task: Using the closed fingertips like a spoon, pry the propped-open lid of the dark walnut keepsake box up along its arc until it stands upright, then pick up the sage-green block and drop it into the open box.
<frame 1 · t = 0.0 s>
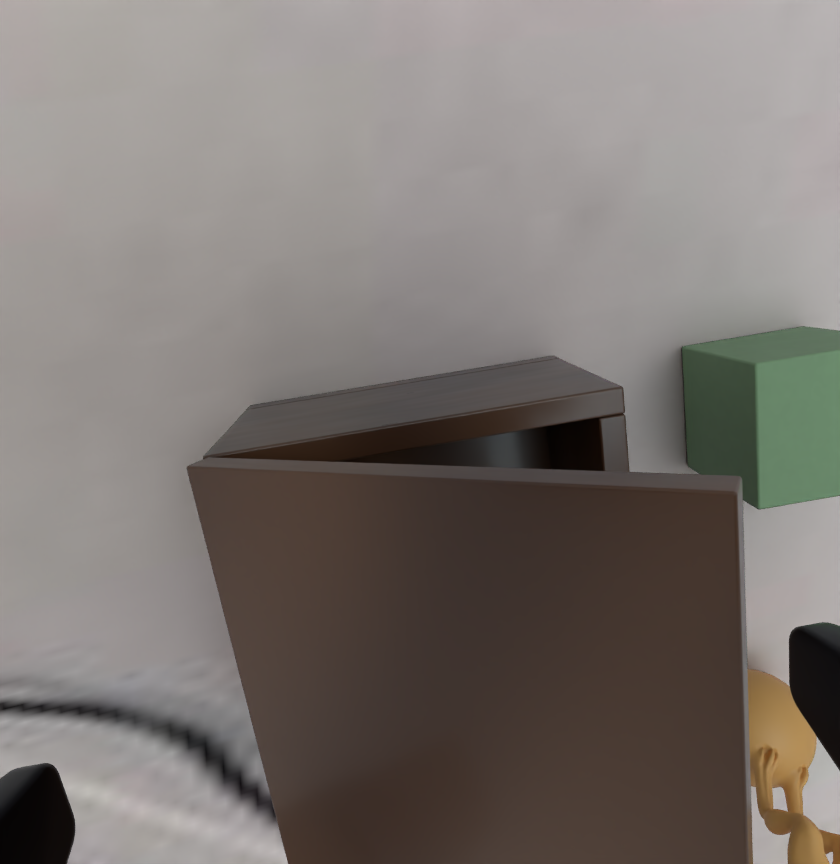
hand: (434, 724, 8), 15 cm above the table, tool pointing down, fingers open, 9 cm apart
box: (430, 547, 23), on the table
block: (744, 397, 23), on the table
figurine: (706, 708, 26), on the table
lid: (446, 746, 13), point 10 cm above the table, hinge at 35.0°
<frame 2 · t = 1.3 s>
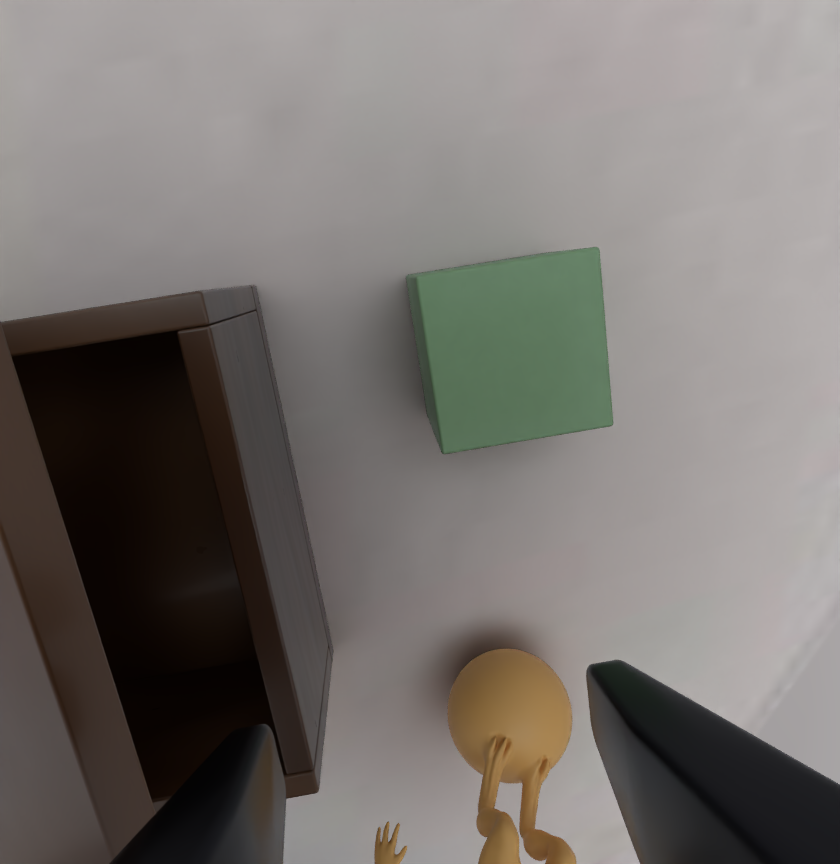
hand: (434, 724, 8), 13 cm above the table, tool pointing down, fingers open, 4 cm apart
box: (134, 509, 20), on the table
block: (487, 336, 20), on the table
figurine: (480, 694, 23), on the table
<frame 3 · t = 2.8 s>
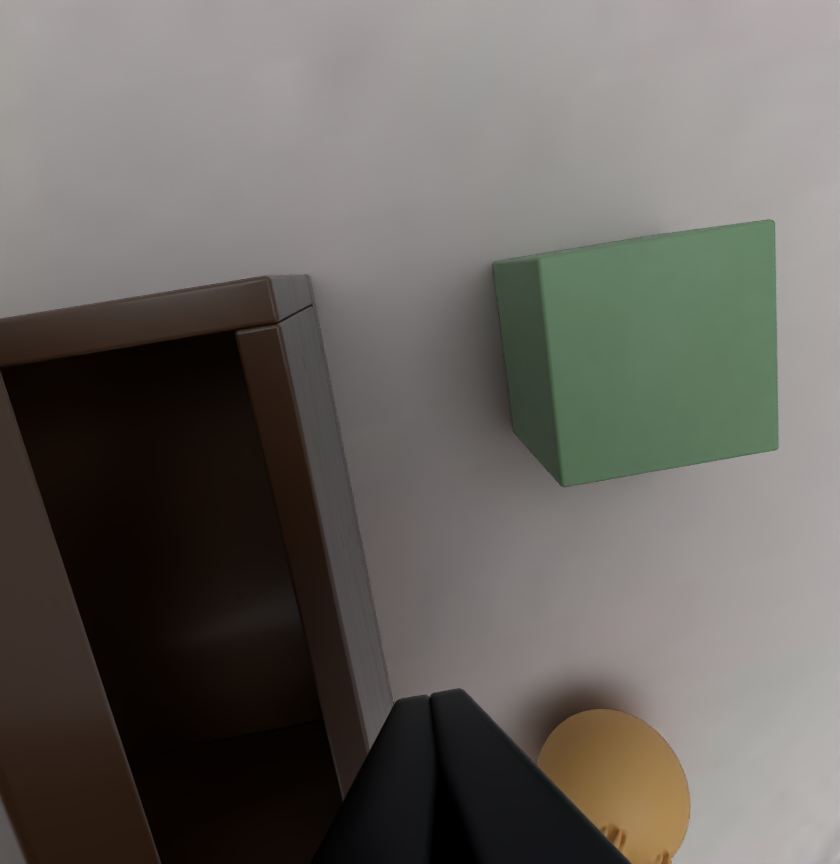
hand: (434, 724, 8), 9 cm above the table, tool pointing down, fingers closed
box: (159, 547, 17), on the table
block: (587, 336, 16), on the table
figurine: (565, 757, 19), on the table
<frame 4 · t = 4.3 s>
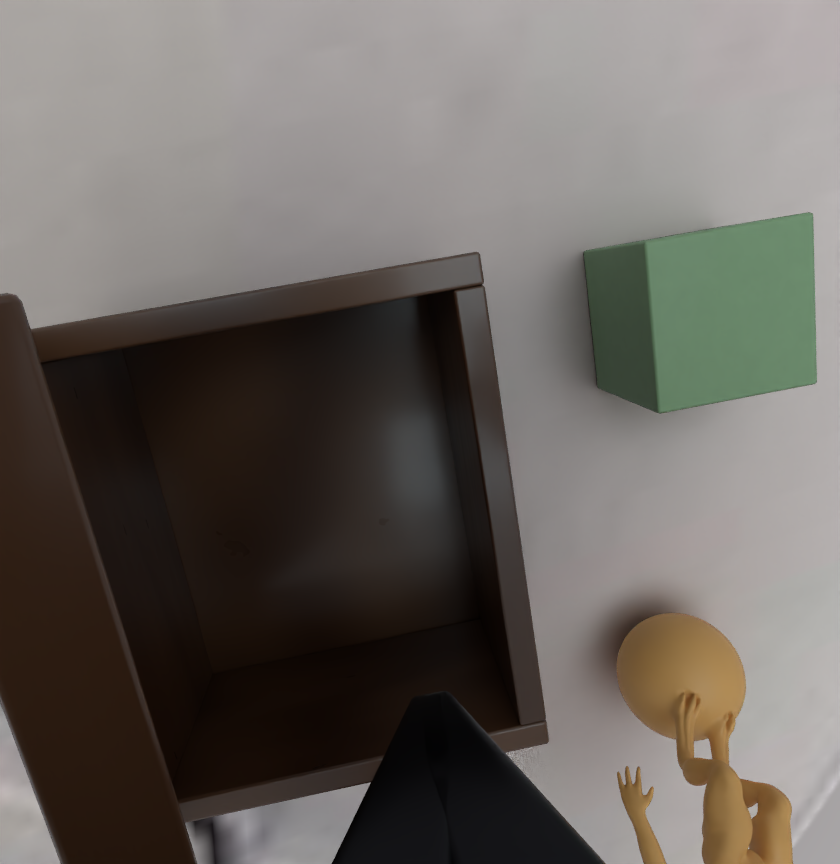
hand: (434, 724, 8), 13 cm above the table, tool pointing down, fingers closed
box: (315, 484, 21), on the table
block: (656, 309, 21), on the table
figurine: (634, 661, 24), on the table
lid: (104, 752, 9), point 12 cm above the table, hinge at 60.6°, touching gripper
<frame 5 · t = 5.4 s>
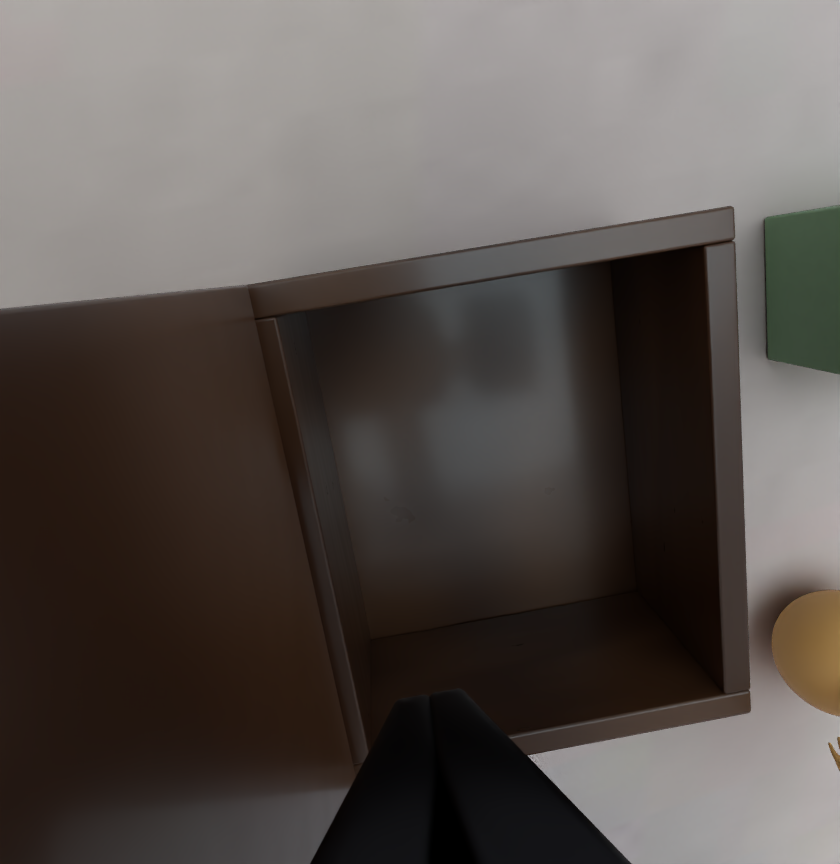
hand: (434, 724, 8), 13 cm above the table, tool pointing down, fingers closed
box: (479, 452, 21), on the table
block: (832, 279, 20), on the table
figurine: (780, 639, 23), on the table
lid: (221, 773, 8), point 12 cm above the table, hinge at 93.3°, touching gripper
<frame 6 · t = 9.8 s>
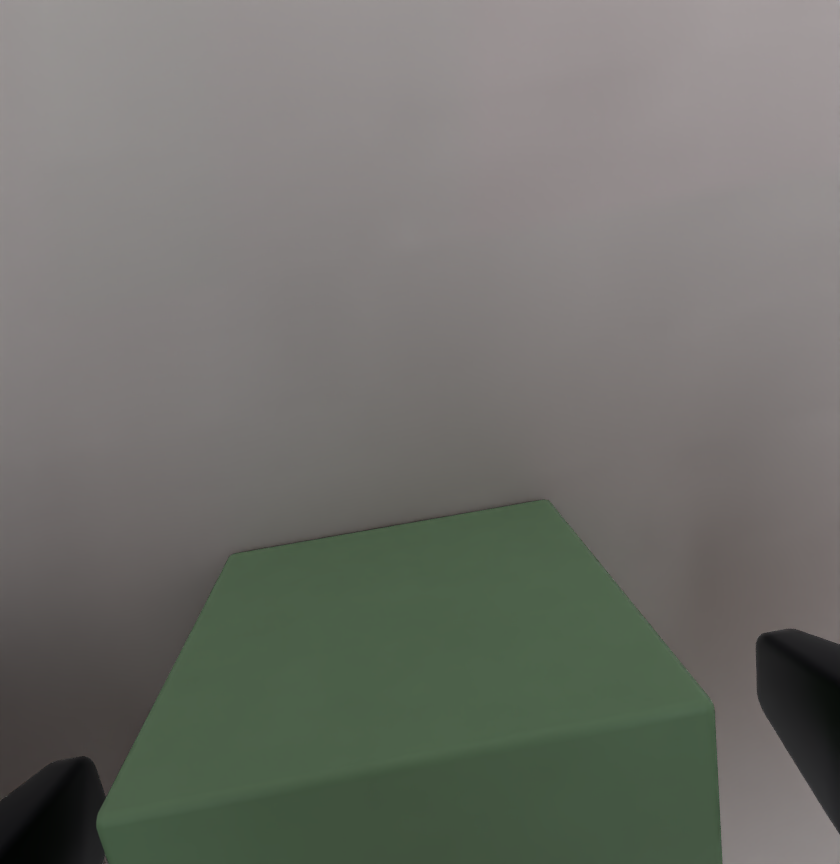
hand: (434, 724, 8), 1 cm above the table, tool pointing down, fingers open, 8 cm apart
block: (415, 665, 9), on the table
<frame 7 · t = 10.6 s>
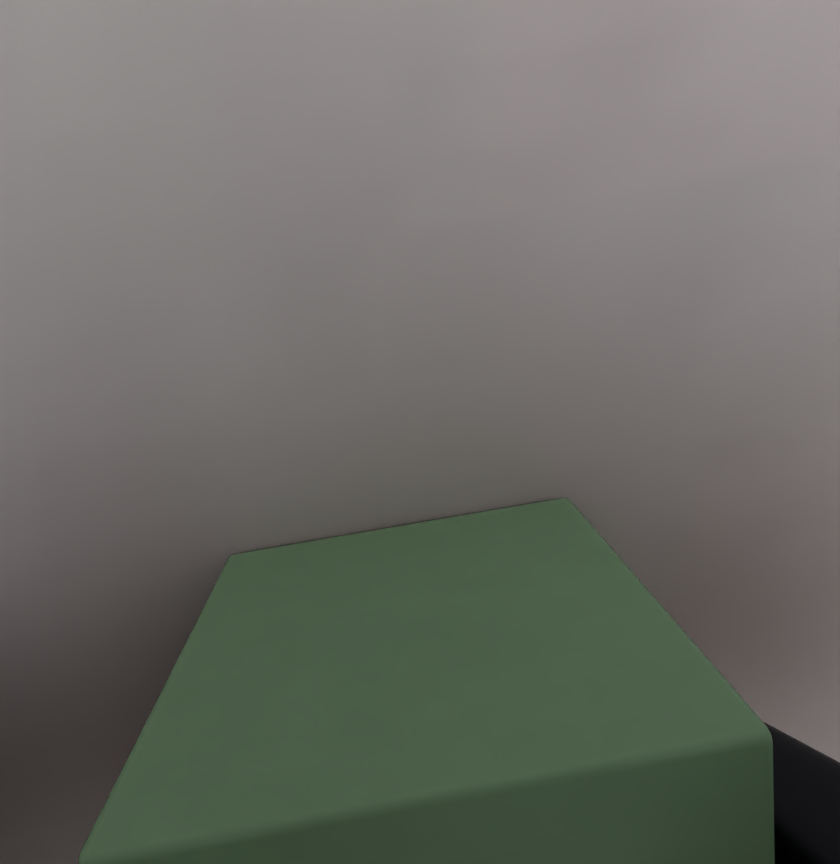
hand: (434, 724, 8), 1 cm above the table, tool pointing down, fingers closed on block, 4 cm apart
block: (425, 672, 9), on the table, touching gripper
when the fingers open (4 cm above the table, at t = 16.0 s): block drops 3 cm, resting on box.
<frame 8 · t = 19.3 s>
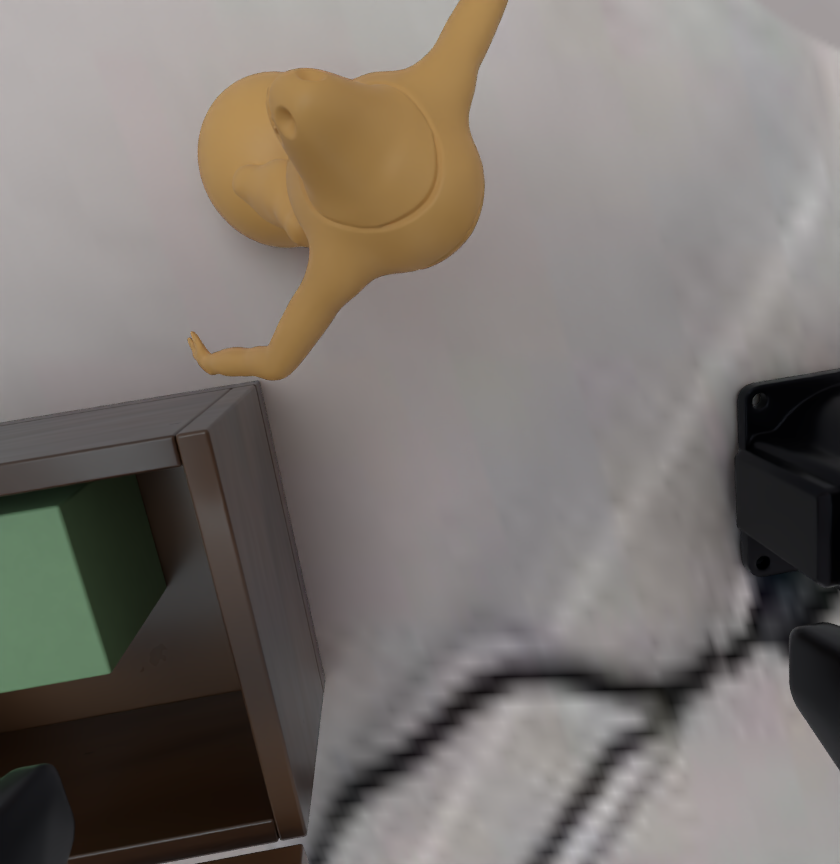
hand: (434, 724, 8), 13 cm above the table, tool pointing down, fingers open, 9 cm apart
box: (99, 573, 20), on the table
block: (75, 534, 19), point 1 cm above the table, touching box
figurine: (325, 197, 18), on the table
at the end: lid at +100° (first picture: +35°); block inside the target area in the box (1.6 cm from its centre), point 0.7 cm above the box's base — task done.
